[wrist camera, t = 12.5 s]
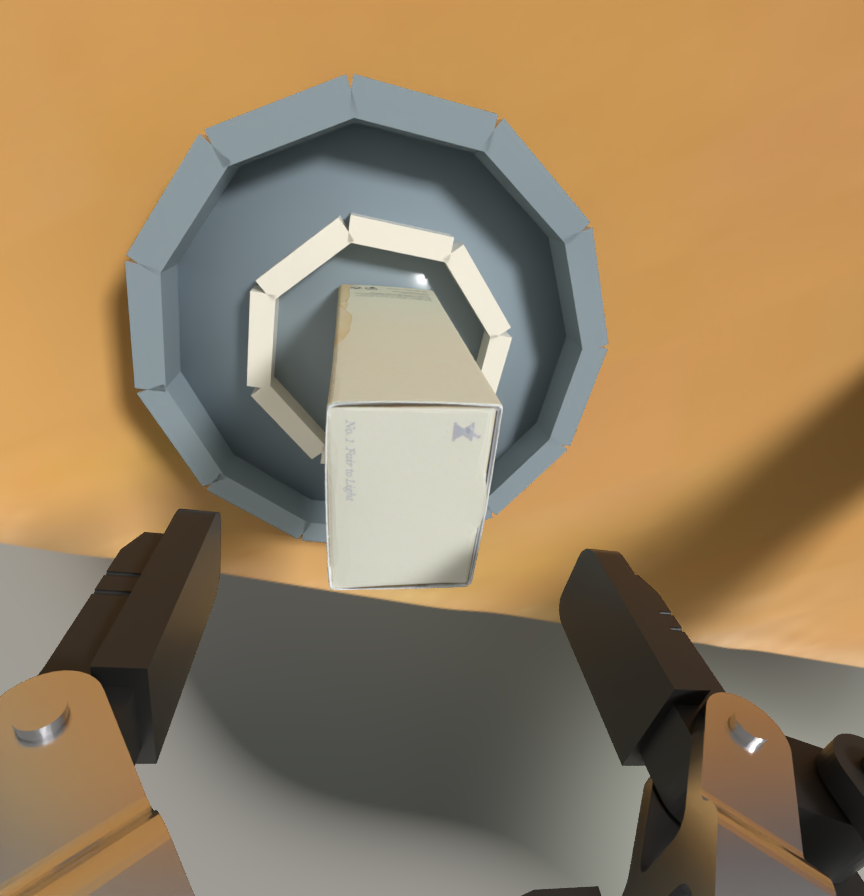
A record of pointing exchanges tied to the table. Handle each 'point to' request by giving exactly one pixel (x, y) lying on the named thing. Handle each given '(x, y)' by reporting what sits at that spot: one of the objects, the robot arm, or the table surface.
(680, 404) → the table surface
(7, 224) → the table surface
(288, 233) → the ring tray
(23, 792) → the robot arm
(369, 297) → the skincare box
